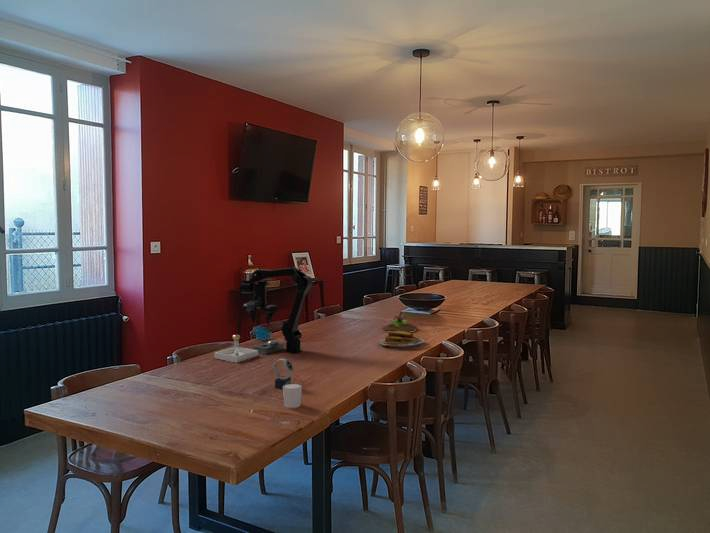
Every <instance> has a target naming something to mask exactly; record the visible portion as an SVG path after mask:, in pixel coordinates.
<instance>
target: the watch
mask: <svg viewBox="0 0 710 533" xmlns="http://www.w3.org/2000/svg"><path fill="white" fill-rule="evenodd" d="M279 361H282V363H283V367H284V370H285V371H286V372H287V373H288V376H282V375H281V372H279V370H278V366H277V364H278V362H279ZM272 371H273V373H274V375H275V377H276V379H274V388H275V389H282V390H283V386H284V385H287V384H292V377H291V376H292V374H293V372H294V365H293V363H292V361H291V360H289V359H288V358H279V359H277V360H275V362H274V363H273V367H272Z"/></svg>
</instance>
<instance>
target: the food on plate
mask: <svg viewBox="0 0 710 533" xmlns="http://www.w3.org/2000/svg"><path fill="white" fill-rule="evenodd" d="M383 342H386V343H385V344H383ZM425 342H426V341H425V339H423V338H420V337H417V336H416V337H415V336H414V335H413V332H412V333H411V332H406V331H391V332H388V335H386V336H385V338H384V339H379V340H378V342H377V343H378V344H379V345H381V346H383V348H384V349H385V348H386V347H392V348H405V347H406V348H407V347H414V346H419V345H422V344H423V343H425Z"/></svg>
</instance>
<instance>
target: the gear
mask: <svg viewBox="0 0 710 533" xmlns="http://www.w3.org/2000/svg"><path fill="white" fill-rule="evenodd" d="M253 335H254V336H255V338H256V339H257V340H258V339H259V341H260V342H261V341H262V342H267V340H268V341H269V340H270V338H271V335H272V331H269V329H268V328H266V327H264V326H261V325H259V326H255V327H254V329H253Z"/></svg>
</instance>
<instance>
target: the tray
mask: <svg viewBox="0 0 710 533" xmlns="http://www.w3.org/2000/svg"><path fill="white" fill-rule="evenodd" d="M213 353H214V358H213V359H215V360H218V359H220V361H223V360H225V362H229V361H230V362H231V363H234V362H235V363H234V364H238V362H239V363H242V362H245V361H248V360H251V359H250V358H252V359H254V358H253V357H255V358H257V356H258V357H259V353H258V350H253V348H252V349H251V348H246V347H241V346H239V356H234V346H233V347H230V348H226V349H221V350H220V351H216V352H213ZM247 359H248V360H247ZM244 360H245V361H244ZM241 361H242V362H241ZM230 362H229V363H230Z"/></svg>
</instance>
